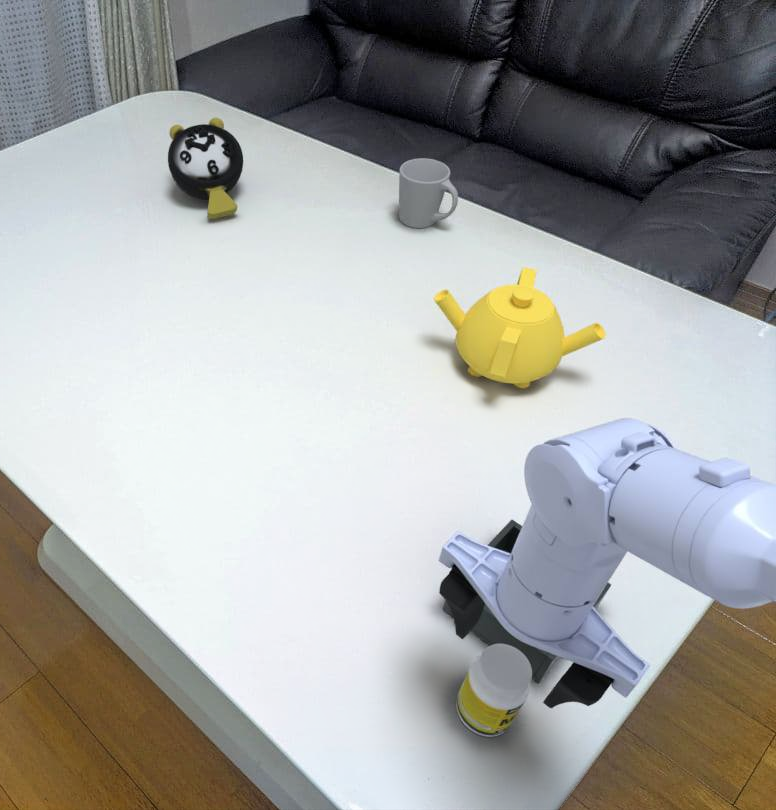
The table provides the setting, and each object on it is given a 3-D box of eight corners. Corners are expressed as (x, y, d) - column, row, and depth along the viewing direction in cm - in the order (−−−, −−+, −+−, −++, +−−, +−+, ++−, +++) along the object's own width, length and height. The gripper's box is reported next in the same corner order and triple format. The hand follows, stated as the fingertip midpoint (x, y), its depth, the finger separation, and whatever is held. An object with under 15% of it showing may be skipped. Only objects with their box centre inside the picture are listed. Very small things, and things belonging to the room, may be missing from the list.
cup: (411, 201, 121) (418, 153, 115) (463, 223, 116) (474, 173, 110) (383, 220, 118) (389, 171, 112) (436, 243, 113) (445, 193, 107)
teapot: (407, 387, 91) (420, 317, 83) (441, 304, 102) (455, 235, 94) (577, 432, 85) (608, 361, 77) (593, 338, 96) (622, 268, 88)
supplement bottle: (498, 750, 61) (522, 709, 55) (445, 715, 63) (464, 673, 57) (520, 703, 64) (546, 660, 58) (469, 672, 66) (489, 627, 60)
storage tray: (595, 609, 70) (611, 584, 66) (538, 683, 65) (552, 660, 62) (501, 545, 75) (511, 518, 72) (442, 609, 70) (450, 584, 67)
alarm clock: (175, 234, 124) (134, 149, 117) (219, 196, 133) (183, 115, 126) (228, 222, 117) (188, 131, 109) (271, 183, 126) (236, 96, 118)
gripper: (699, 599, 45) (623, 691, 55) (493, 470, 53) (459, 571, 62) (646, 678, 42) (575, 761, 52) (434, 528, 49) (408, 625, 59)
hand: (508, 661), depth 57 cm, fingers open, 7 cm apart
